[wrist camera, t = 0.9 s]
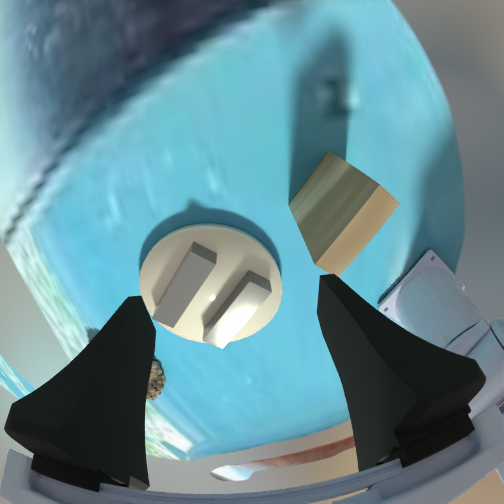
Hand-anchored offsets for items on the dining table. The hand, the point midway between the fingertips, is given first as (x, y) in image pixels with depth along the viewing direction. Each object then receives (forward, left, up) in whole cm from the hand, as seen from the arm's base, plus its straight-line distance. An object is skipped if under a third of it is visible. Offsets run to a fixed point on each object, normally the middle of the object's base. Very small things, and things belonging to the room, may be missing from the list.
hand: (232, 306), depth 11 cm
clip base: (-2, +7, -11) cm, 13 cm away
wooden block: (-4, -5, -11) cm, 12 cm away
